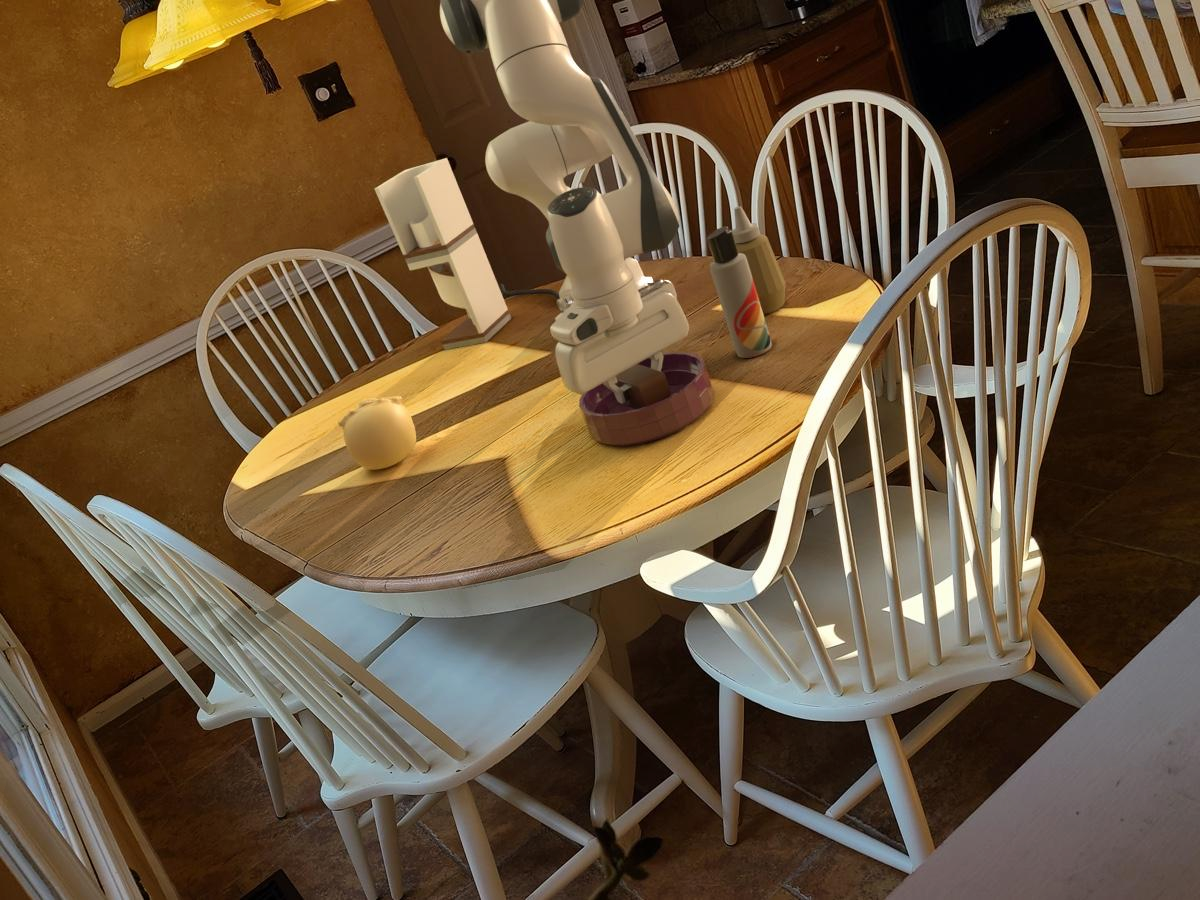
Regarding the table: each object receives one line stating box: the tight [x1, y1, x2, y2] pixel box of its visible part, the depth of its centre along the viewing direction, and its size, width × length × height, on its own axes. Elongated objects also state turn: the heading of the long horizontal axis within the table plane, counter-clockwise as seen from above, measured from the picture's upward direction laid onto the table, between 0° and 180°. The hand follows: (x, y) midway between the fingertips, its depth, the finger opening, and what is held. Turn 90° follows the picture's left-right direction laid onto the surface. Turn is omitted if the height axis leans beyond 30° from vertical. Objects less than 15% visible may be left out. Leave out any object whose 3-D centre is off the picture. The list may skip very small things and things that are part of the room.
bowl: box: [578, 351, 715, 447], centre depth 163 cm, size 19×19×6 cm
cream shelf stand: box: [374, 157, 512, 351], centre depth 224 cm, size 11×11×35 cm
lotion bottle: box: [706, 225, 772, 359], centre depth 169 cm, size 6×6×20 cm
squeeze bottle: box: [731, 205, 786, 315], centre depth 183 cm, size 8×8×18 cm
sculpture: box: [337, 395, 417, 471], centre depth 182 cm, size 11×12×11 cm
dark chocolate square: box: [614, 364, 671, 409], centre depth 160 cm, size 9×4×5 cm, turn 29°
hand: (640, 391), depth 160 cm, fingers closed on dark chocolate square, 4 cm apart
